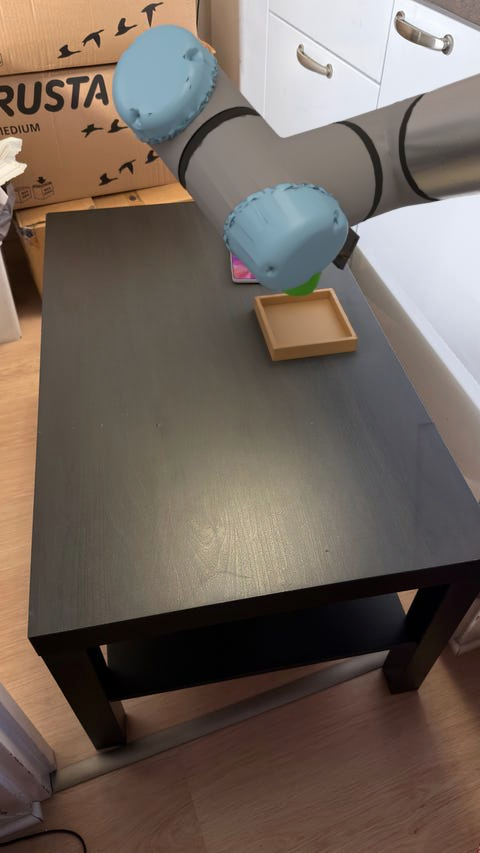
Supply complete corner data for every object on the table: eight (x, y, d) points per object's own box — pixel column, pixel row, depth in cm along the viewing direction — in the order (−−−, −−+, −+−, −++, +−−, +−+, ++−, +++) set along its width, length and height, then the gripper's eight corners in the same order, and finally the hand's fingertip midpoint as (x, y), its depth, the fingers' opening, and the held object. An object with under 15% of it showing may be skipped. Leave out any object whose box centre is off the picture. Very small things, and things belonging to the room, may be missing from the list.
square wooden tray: (355, 350, 89) (357, 338, 87) (272, 361, 87) (273, 349, 86) (330, 300, 97) (332, 287, 95) (254, 308, 95) (254, 296, 94)
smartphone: (269, 229, 109) (277, 279, 99) (269, 234, 110) (277, 284, 100) (228, 229, 109) (232, 279, 99) (228, 234, 109) (232, 284, 99)
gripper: (135, 174, 60) (231, 247, 81) (323, 245, 52) (376, 305, 73) (166, 99, 59) (255, 192, 80) (363, 159, 51) (405, 245, 72)
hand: (313, 246), depth 77 cm, fingers closed on cup, 8 cm apart
